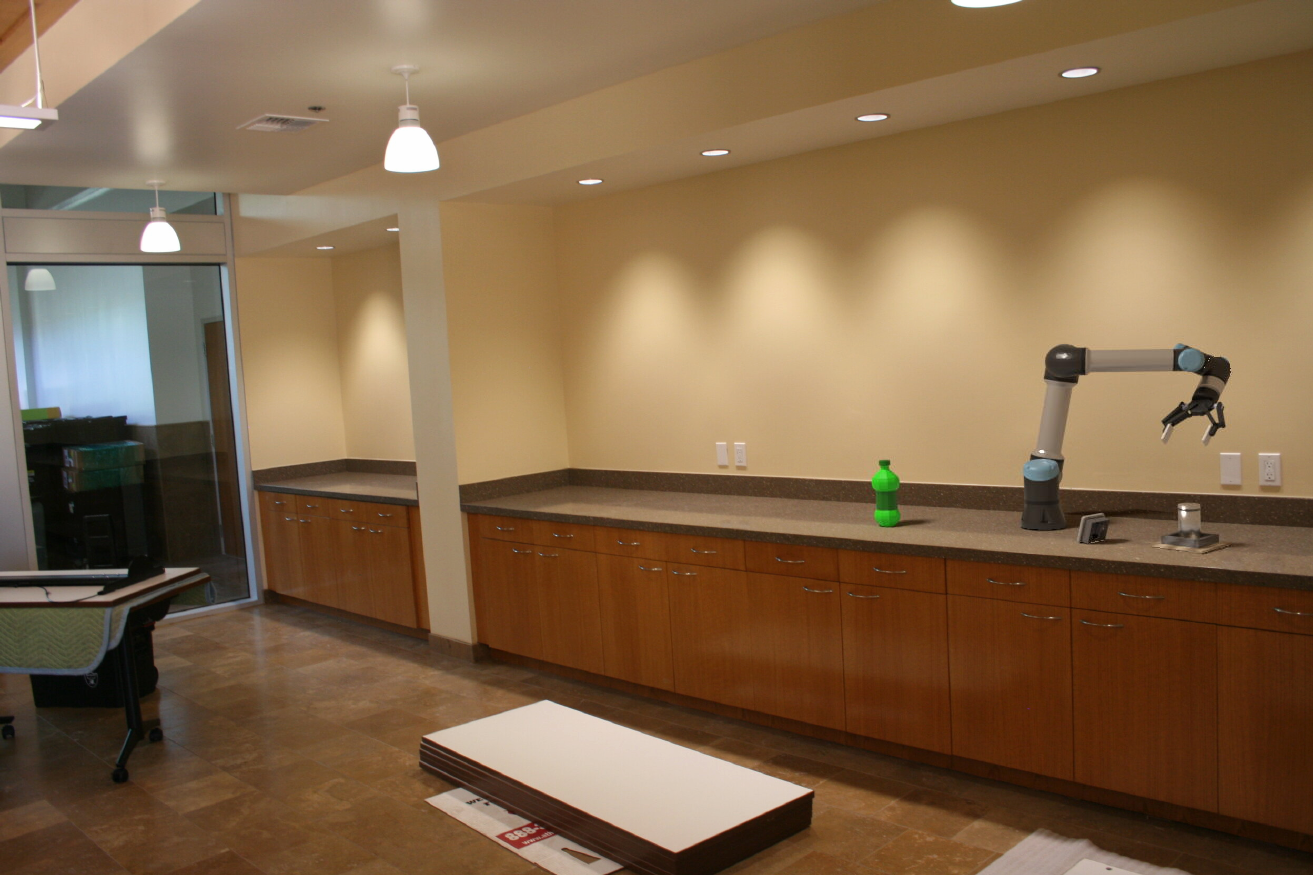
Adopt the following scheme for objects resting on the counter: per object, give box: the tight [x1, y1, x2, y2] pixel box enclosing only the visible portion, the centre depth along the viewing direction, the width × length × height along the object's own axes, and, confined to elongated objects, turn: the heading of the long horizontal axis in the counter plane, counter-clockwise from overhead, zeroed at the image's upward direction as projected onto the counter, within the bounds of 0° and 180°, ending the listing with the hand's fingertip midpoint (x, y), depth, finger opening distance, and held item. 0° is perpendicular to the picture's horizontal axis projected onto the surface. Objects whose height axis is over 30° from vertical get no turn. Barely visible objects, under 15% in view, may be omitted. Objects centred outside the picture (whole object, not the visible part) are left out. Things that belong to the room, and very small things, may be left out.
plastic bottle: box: [871, 459, 902, 528], centre depth 363 cm, size 10×10×25 cm
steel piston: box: [1177, 502, 1202, 539], centre depth 294 cm, size 6×6×12 cm
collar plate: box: [1149, 530, 1232, 552], centre depth 294 cm, size 16×16×4 cm
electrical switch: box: [1076, 512, 1110, 545], centre depth 309 cm, size 9×5×9 cm, turn 113°
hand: (1183, 442), depth 313 cm, fingers open, 13 cm apart
